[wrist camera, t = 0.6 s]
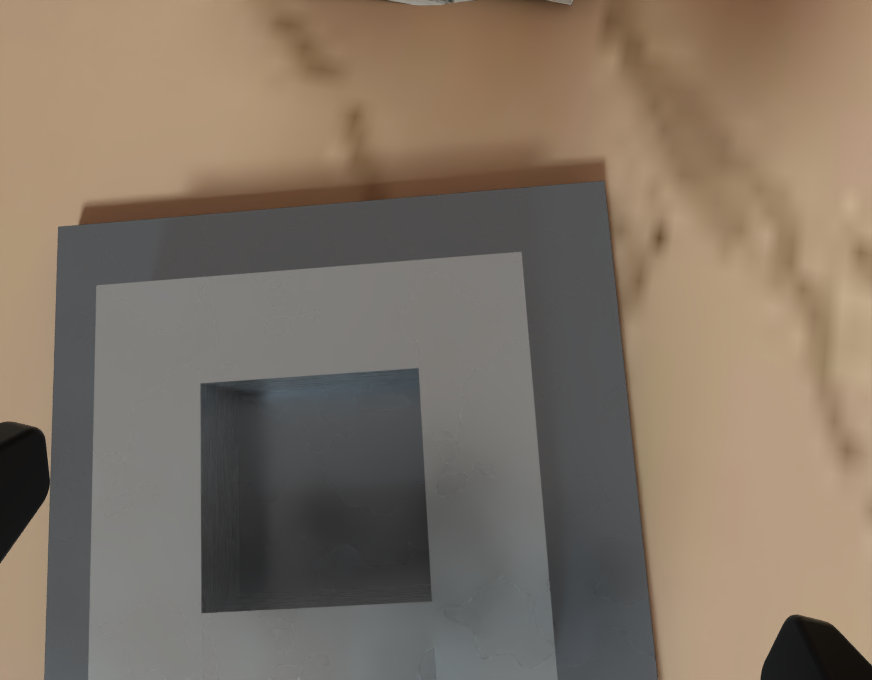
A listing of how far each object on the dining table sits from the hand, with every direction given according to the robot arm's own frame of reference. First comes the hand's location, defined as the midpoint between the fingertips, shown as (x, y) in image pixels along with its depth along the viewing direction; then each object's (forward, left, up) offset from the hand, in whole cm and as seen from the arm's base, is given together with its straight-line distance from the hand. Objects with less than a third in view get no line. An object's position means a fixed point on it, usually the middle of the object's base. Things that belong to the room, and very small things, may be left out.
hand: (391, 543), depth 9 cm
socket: (+1, +4, -15) cm, 15 cm away
